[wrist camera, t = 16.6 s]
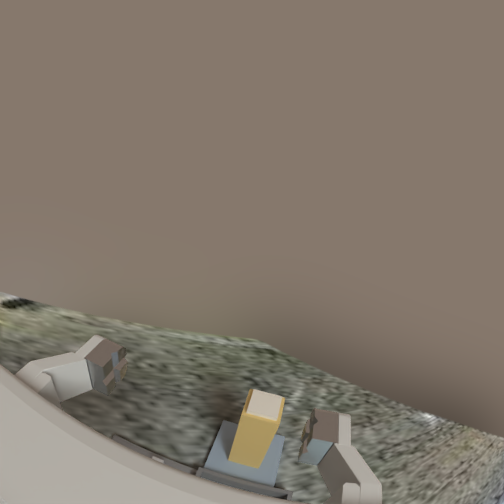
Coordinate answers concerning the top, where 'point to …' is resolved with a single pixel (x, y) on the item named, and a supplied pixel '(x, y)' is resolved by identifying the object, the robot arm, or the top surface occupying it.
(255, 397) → the block
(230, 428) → the mat
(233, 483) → the case
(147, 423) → the top surface
